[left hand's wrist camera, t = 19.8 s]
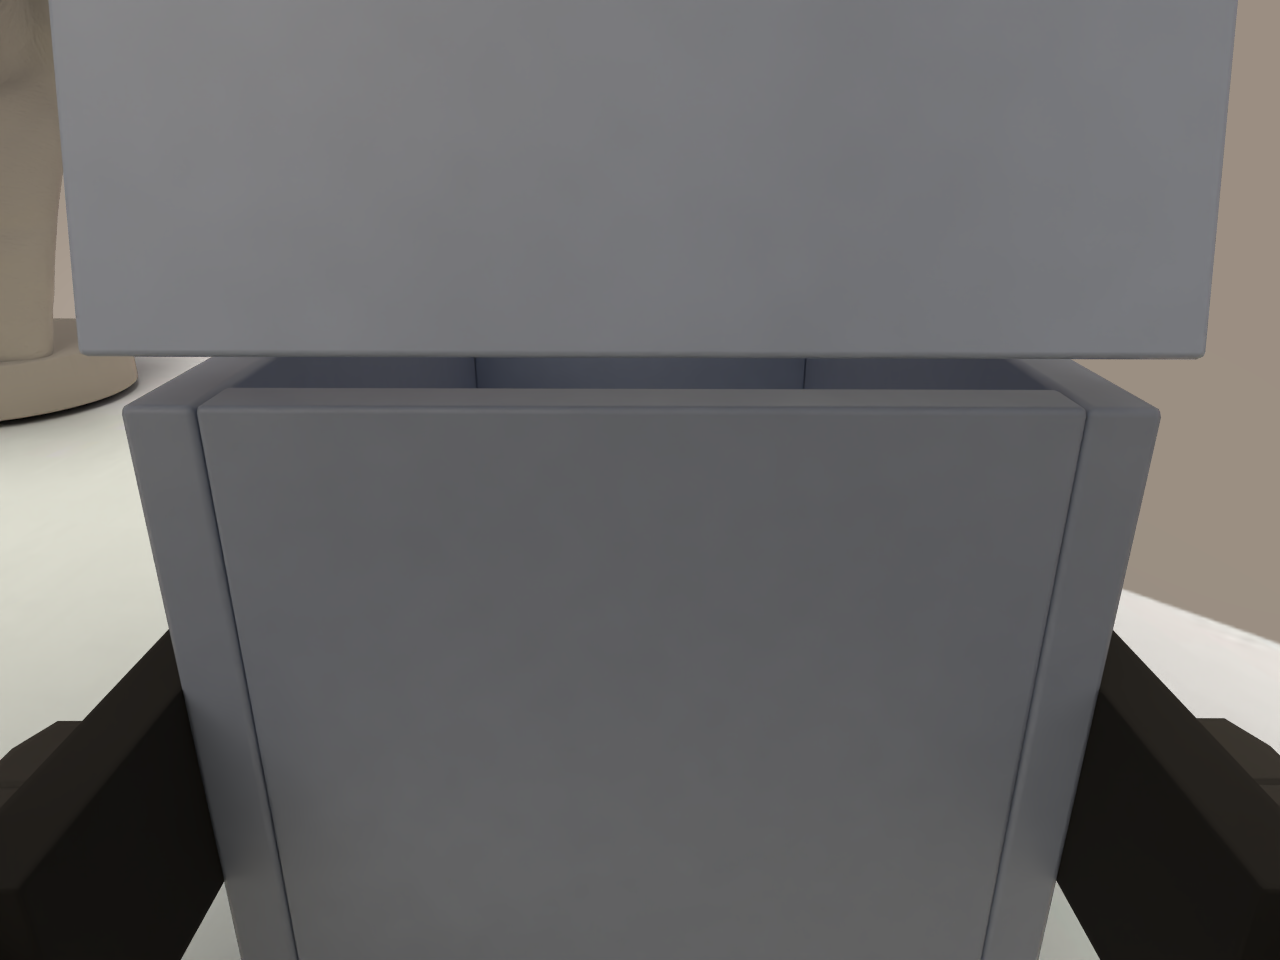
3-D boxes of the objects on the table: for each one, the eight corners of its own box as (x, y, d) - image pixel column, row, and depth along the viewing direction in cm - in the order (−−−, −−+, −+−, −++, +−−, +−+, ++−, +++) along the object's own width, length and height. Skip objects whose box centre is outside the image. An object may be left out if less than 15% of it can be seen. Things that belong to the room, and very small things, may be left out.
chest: (470, 598, 27) (442, 225, 23) (808, 599, 27) (839, 226, 23) (279, 1143, 13) (116, 406, 9) (998, 1145, 13) (1167, 410, 9)
